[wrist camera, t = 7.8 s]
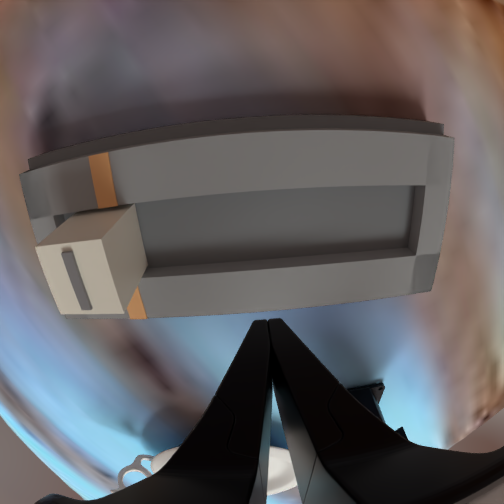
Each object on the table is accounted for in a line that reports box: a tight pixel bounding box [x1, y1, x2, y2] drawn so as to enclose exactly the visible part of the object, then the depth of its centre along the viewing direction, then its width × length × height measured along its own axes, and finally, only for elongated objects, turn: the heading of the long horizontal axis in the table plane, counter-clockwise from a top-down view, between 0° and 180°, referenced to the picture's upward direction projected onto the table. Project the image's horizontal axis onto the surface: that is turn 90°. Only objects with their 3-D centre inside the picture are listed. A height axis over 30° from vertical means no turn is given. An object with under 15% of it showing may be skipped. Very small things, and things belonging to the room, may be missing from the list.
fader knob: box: [35, 203, 148, 314], centre depth 15 cm, size 4×4×5 cm
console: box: [19, 115, 454, 319], centre depth 18 cm, size 12×26×3 cm, turn 94°
